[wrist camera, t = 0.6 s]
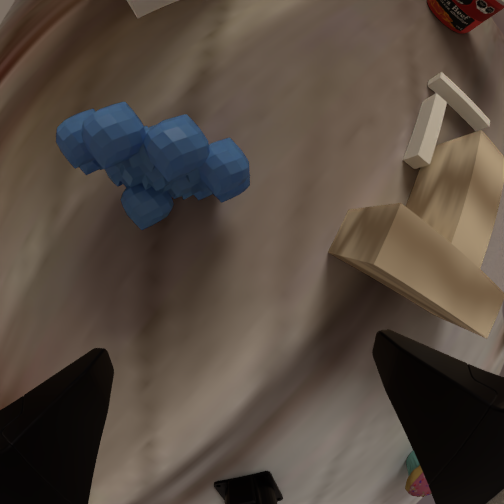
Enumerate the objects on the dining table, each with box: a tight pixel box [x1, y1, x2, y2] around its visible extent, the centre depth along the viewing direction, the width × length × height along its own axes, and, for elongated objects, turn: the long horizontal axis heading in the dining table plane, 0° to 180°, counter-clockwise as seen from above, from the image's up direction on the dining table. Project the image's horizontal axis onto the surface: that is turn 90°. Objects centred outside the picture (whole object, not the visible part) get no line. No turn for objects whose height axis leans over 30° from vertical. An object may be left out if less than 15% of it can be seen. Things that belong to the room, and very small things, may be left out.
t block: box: [328, 130, 504, 338], centre depth 20 cm, size 14×14×8 cm
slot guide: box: [403, 72, 490, 169], centre depth 22 cm, size 12×8×2 cm
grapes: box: [56, 102, 250, 230], centre depth 16 cm, size 12×7×12 cm, turn 78°
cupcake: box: [405, 450, 432, 497], centre depth 21 cm, size 9×8×12 cm
